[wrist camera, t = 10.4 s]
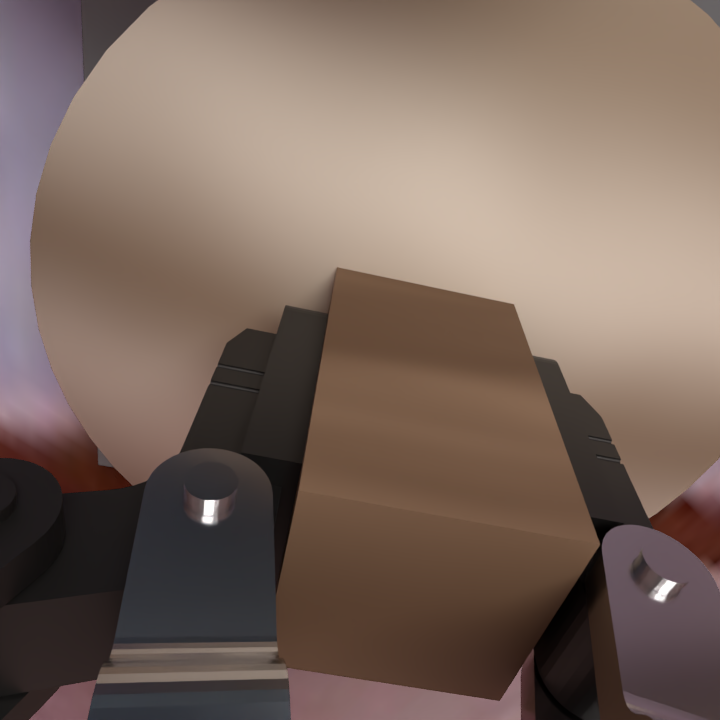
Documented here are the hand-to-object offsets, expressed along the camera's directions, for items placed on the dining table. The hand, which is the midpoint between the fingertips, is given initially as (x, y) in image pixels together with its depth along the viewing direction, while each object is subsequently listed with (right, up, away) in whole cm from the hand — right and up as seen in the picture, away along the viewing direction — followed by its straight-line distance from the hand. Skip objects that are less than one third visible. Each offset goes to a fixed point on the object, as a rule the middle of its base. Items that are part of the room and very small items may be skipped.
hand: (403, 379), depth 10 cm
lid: (0, +1, +1) cm, 2 cm away
